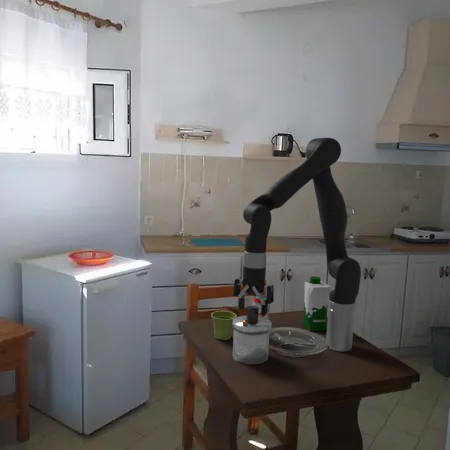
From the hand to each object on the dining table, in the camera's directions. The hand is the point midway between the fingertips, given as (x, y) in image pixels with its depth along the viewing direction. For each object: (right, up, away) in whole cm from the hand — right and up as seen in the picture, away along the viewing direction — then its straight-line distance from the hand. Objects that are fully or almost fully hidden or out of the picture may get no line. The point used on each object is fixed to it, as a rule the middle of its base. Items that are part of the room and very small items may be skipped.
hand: (252, 312), depth 162 cm
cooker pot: (-1, -15, +2) cm, 16 cm away
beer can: (+4, -13, +19) cm, 23 cm away
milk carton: (+27, -12, +32) cm, 43 cm away
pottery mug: (-8, -11, +32) cm, 35 cm away
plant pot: (-10, -13, +19) cm, 25 cm away
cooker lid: (0, -5, +1) cm, 5 cm away
